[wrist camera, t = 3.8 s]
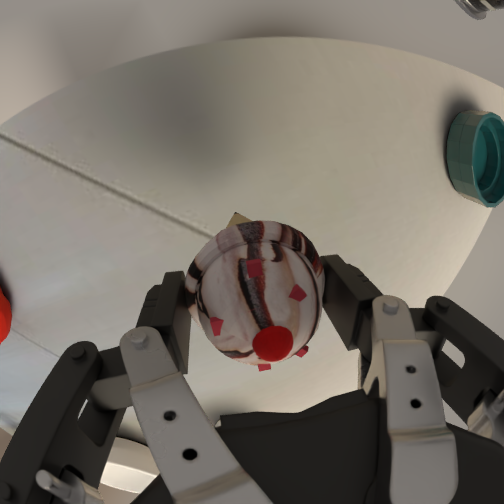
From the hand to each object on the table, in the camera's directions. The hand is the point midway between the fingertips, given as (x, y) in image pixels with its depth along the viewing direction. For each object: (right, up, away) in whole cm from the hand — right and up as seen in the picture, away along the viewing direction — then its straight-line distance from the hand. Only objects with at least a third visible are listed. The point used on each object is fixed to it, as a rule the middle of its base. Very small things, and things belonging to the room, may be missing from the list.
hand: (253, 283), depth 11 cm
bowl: (-27, -41, +30) cm, 58 cm away
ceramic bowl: (+29, +14, +14) cm, 36 cm away
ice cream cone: (-1, +4, +10) cm, 11 cm away
